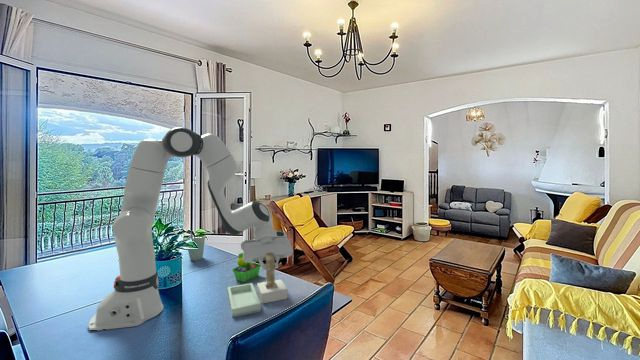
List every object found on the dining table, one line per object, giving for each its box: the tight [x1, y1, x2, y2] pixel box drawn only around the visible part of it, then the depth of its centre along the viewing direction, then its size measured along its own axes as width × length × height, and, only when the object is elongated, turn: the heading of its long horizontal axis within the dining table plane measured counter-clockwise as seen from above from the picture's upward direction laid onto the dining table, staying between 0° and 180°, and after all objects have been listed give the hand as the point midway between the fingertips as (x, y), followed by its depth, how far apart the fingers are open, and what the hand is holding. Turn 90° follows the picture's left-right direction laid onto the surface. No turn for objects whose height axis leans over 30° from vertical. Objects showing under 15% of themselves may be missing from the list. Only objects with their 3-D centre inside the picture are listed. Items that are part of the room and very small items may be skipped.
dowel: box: [265, 253, 276, 287], centre depth 120 cm, size 3×3×13 cm
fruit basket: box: [232, 252, 262, 283], centre depth 139 cm, size 11×9×11 cm
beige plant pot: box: [187, 236, 206, 262], centre depth 165 cm, size 11×11×15 cm
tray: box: [227, 282, 262, 318], centre depth 116 cm, size 10×19×3 cm, turn 21°
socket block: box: [256, 278, 288, 304], centre depth 121 cm, size 10×10×4 cm
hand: (270, 268), depth 119 cm, fingers closed on dowel, 3 cm apart
